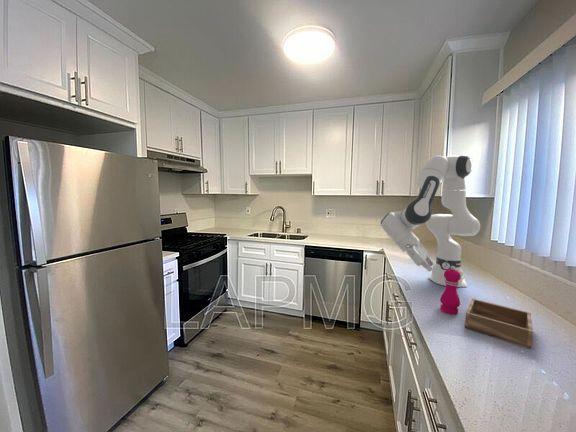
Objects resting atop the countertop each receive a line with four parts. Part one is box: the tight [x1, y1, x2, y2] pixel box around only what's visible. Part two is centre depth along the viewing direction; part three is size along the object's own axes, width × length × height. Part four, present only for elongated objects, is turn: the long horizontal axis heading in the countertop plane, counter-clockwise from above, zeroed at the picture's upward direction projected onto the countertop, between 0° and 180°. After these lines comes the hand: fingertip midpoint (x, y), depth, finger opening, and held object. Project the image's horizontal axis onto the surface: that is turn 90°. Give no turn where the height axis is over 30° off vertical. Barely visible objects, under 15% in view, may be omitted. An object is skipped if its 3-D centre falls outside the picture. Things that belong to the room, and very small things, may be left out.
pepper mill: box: [439, 266, 461, 315], centre depth 106 cm, size 7×7×20 cm
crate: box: [464, 298, 534, 350], centre depth 94 cm, size 18×18×6 cm
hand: (431, 267), depth 109 cm, fingers open, 8 cm apart
